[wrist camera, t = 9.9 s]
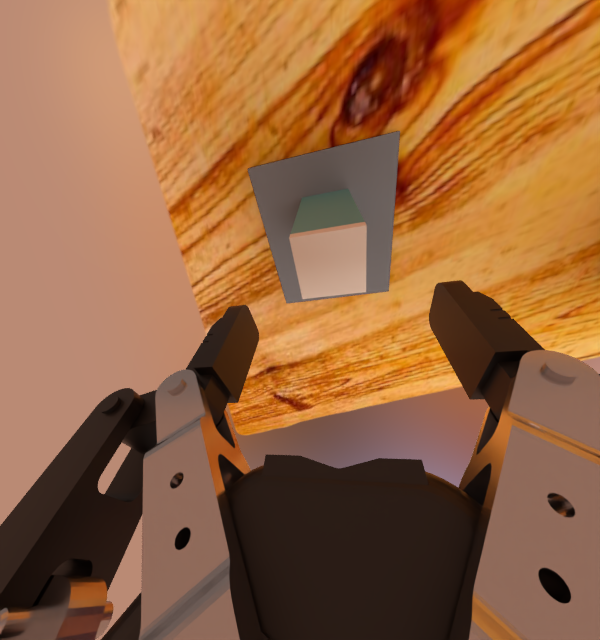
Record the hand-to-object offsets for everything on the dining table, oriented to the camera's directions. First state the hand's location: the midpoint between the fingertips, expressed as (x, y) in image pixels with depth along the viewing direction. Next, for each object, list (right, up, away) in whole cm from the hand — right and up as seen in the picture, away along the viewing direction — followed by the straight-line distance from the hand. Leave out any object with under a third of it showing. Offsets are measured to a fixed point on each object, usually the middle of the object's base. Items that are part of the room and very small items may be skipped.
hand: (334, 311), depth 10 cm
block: (+1, +9, +10) cm, 14 cm away
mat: (+1, +8, +12) cm, 15 cm away
